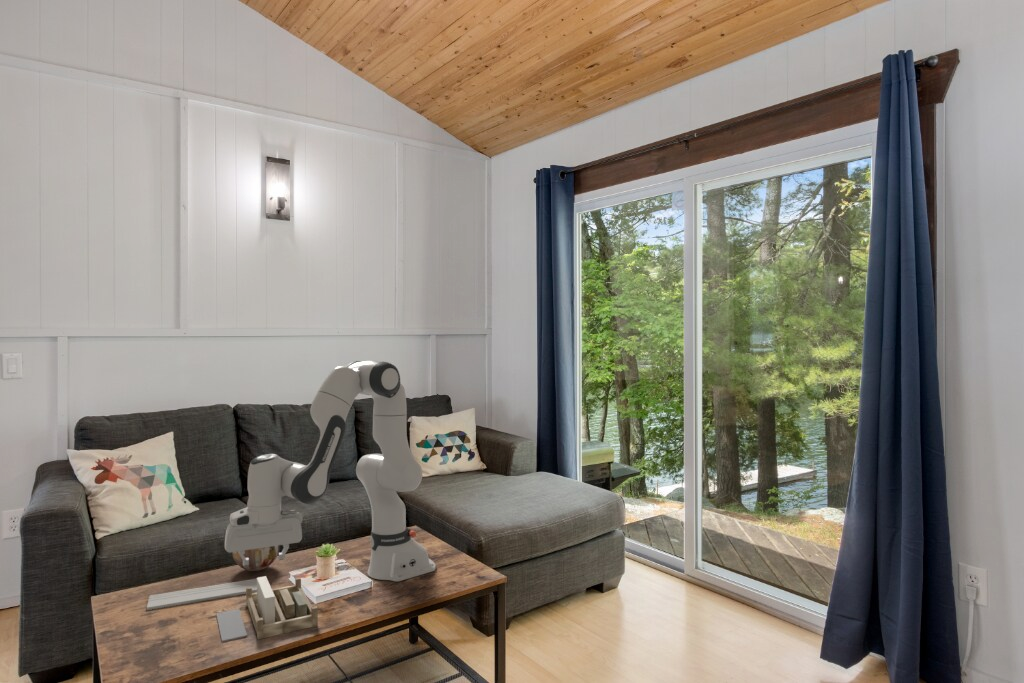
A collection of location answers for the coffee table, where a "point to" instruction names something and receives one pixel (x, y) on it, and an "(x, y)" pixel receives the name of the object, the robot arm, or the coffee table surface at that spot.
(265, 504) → the robot arm
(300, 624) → the rack
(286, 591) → the offcuts
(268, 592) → the cream rectangular board
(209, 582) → the coffee table surface
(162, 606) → the baseboard molding
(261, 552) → the ornament
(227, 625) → the mat
